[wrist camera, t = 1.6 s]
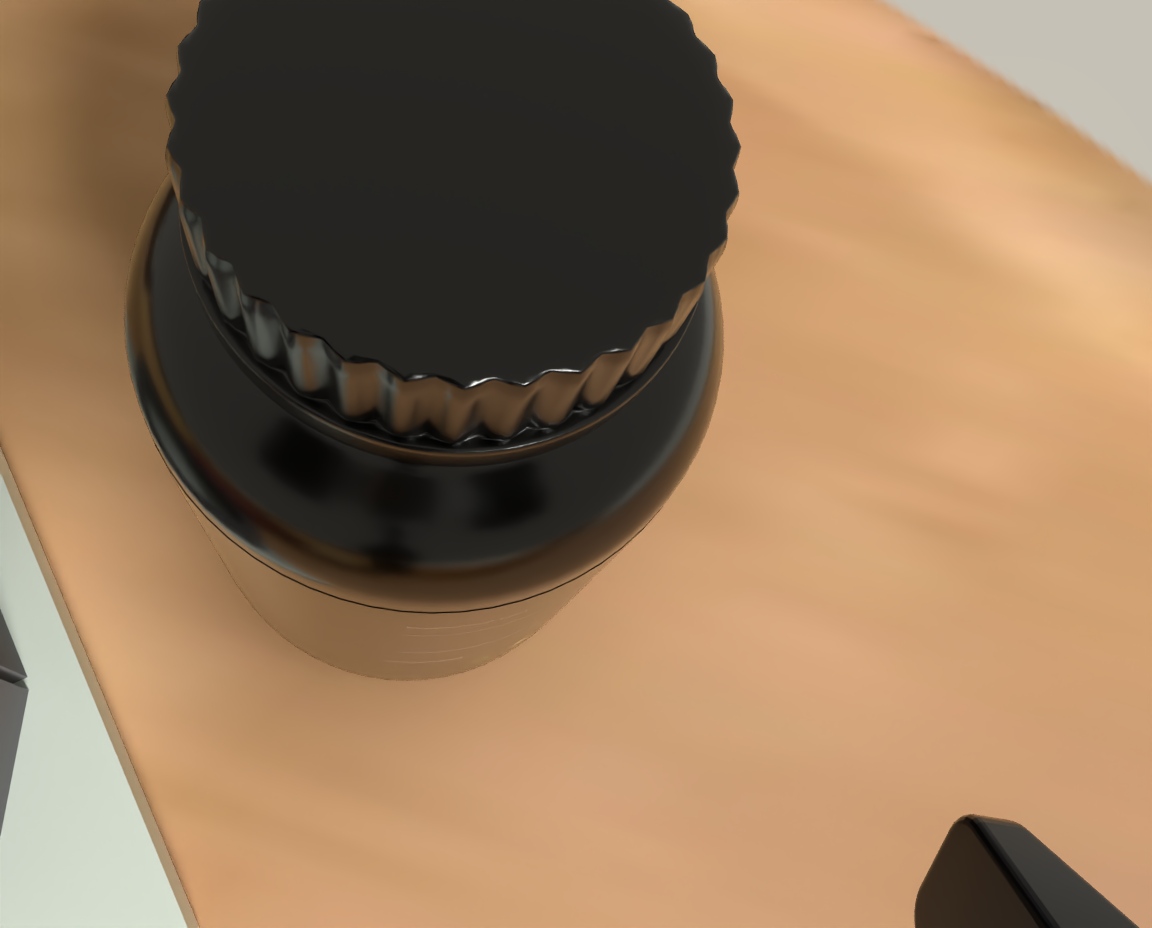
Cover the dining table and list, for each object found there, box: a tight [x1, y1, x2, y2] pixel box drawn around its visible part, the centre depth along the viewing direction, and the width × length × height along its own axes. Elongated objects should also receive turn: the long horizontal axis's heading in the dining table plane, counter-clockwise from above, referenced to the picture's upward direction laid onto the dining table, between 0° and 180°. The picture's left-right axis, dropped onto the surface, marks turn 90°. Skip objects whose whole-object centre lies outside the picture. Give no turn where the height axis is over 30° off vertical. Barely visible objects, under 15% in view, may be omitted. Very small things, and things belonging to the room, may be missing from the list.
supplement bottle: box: [124, 0, 741, 681], centre depth 14 cm, size 7×7×12 cm
